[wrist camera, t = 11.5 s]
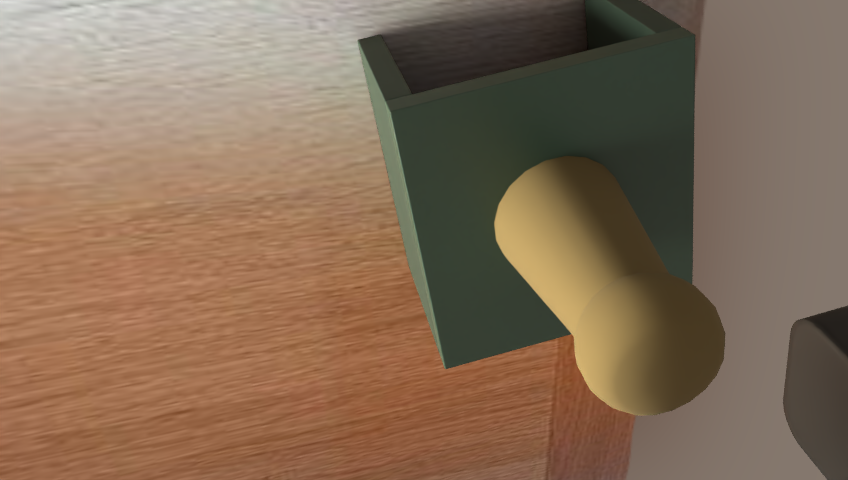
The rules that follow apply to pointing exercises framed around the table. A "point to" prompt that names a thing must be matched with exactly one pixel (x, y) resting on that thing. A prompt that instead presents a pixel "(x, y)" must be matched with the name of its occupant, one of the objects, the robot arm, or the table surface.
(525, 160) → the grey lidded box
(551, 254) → the tan game pawn
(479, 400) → the table surface
